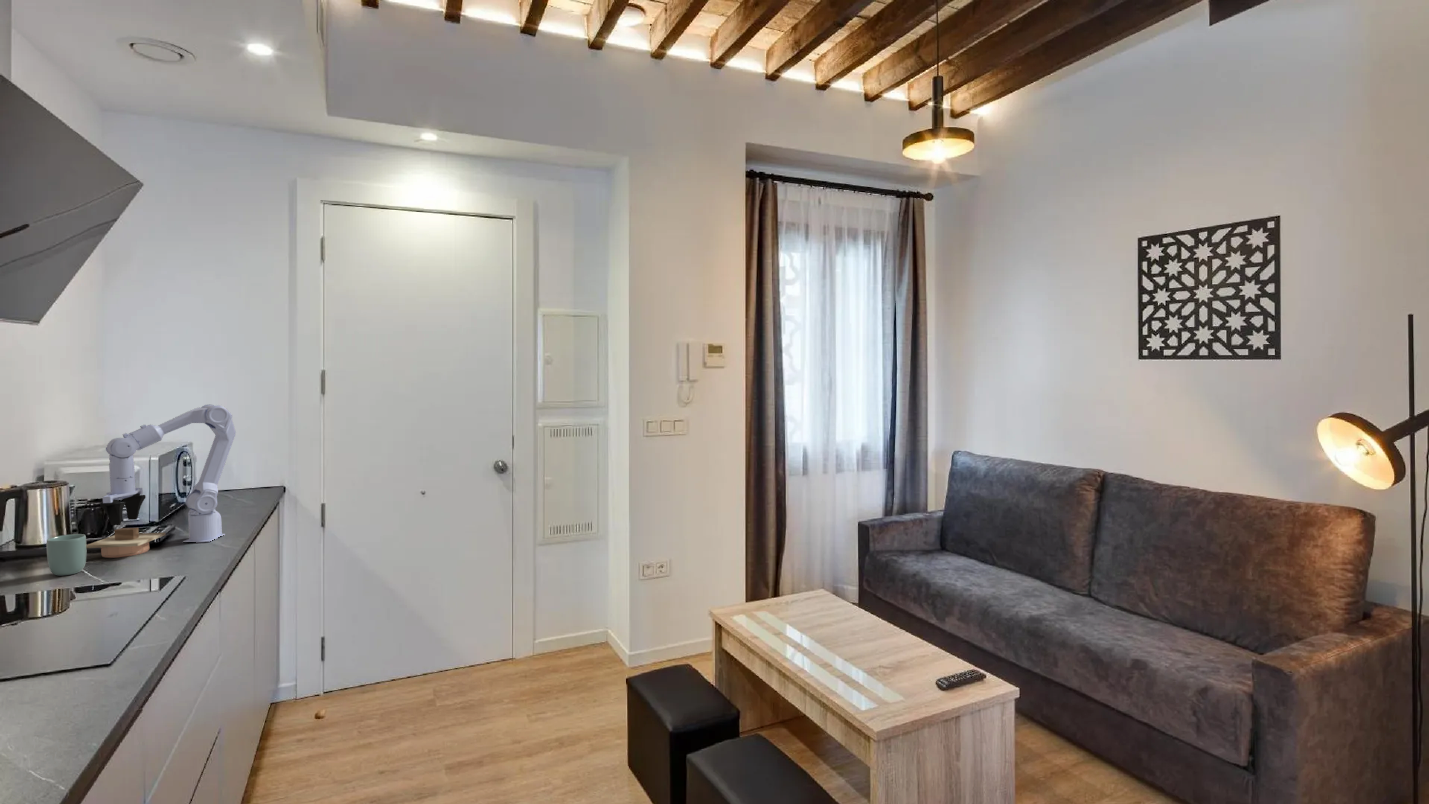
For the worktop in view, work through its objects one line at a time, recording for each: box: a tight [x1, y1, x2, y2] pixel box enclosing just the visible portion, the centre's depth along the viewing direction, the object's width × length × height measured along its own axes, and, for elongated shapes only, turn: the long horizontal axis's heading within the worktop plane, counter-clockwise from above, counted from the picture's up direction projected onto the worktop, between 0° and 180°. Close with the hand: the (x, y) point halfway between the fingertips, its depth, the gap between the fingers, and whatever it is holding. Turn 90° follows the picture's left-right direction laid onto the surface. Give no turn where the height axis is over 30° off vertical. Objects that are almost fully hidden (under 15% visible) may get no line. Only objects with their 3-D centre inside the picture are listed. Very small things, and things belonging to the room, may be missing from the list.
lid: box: [86, 527, 167, 549], centre depth 208 cm, size 14×14×4 cm
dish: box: [100, 541, 150, 559], centre depth 208 cm, size 11×11×4 cm
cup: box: [46, 533, 88, 577], centre depth 187 cm, size 8×8×10 cm
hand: (124, 522), depth 208 cm, fingers open, 7 cm apart
